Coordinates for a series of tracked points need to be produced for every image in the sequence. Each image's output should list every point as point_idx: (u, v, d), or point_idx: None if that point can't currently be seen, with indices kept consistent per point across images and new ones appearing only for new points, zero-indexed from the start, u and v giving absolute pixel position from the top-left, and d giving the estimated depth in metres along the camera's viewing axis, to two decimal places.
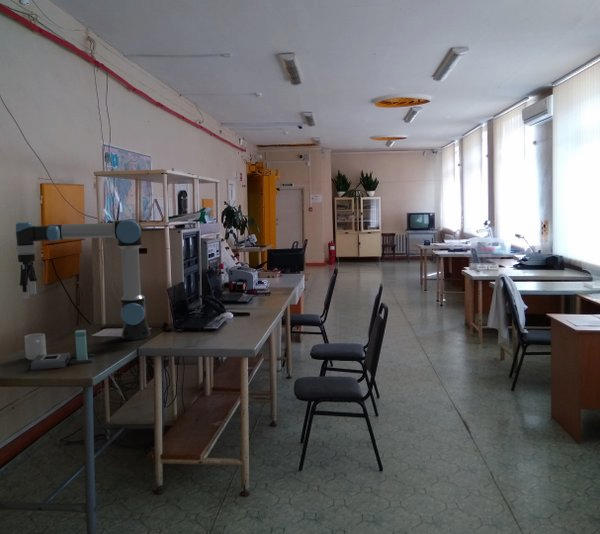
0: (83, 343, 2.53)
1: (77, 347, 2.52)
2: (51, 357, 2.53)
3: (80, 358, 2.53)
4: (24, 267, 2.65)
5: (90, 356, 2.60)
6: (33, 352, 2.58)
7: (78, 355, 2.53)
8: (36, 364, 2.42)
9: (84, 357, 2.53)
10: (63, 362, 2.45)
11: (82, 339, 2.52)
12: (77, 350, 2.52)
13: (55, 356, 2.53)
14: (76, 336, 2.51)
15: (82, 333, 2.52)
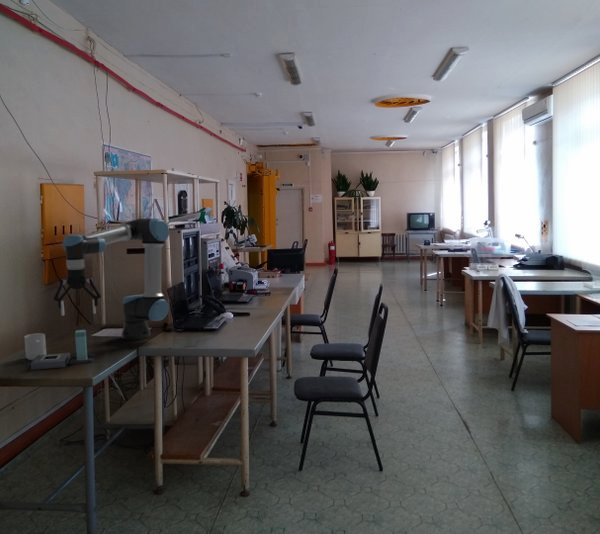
0: (83, 343, 2.53)
1: (77, 347, 2.52)
2: (51, 357, 2.53)
3: (80, 358, 2.53)
4: None
5: (90, 356, 2.60)
6: (33, 352, 2.58)
7: (78, 355, 2.53)
8: (36, 364, 2.42)
9: (84, 357, 2.53)
10: (63, 362, 2.45)
11: (82, 339, 2.52)
12: (77, 350, 2.52)
13: (55, 356, 2.53)
14: (76, 336, 2.51)
15: (82, 333, 2.52)
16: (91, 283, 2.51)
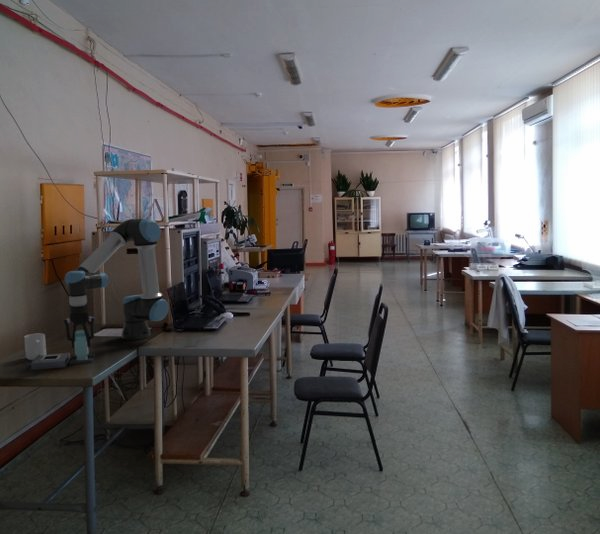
0: (83, 343, 2.53)
1: (77, 347, 2.52)
2: (51, 357, 2.53)
3: (80, 358, 2.53)
4: None
5: (90, 356, 2.60)
6: (33, 352, 2.58)
7: (78, 355, 2.53)
8: (36, 364, 2.42)
9: (84, 357, 2.53)
10: (63, 362, 2.45)
11: (82, 339, 2.52)
12: (77, 350, 2.52)
13: (55, 356, 2.53)
14: (76, 336, 2.51)
15: (82, 333, 2.52)
16: (91, 322, 2.53)
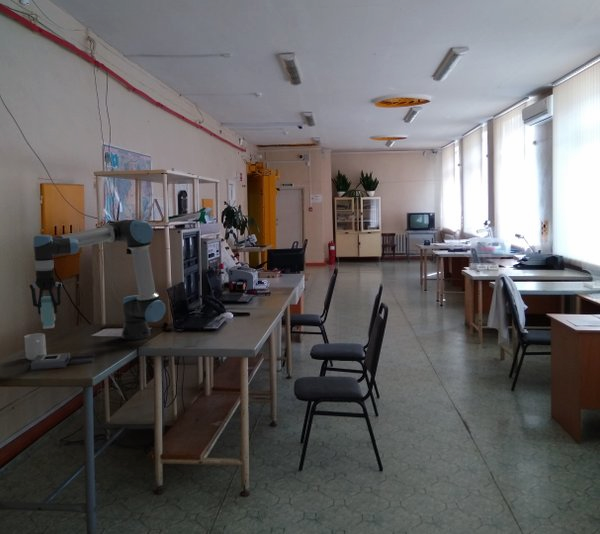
0: (49, 309, 2.46)
1: (43, 313, 2.45)
2: (51, 357, 2.53)
3: (46, 325, 2.46)
4: None
5: (90, 356, 2.60)
6: (33, 352, 2.58)
7: (44, 322, 2.46)
8: (36, 364, 2.42)
9: (50, 324, 2.46)
10: (63, 362, 2.45)
11: (48, 305, 2.45)
12: (43, 316, 2.45)
13: (55, 356, 2.53)
14: (42, 302, 2.44)
15: (48, 299, 2.45)
16: (58, 288, 2.46)
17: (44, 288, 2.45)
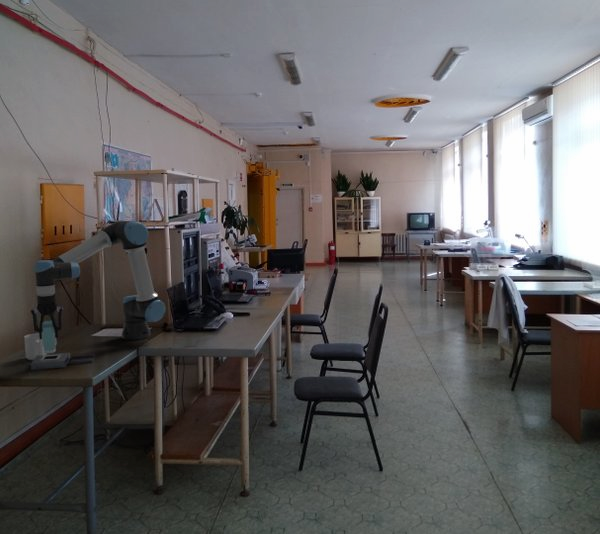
0: (51, 334, 2.47)
1: (44, 338, 2.46)
2: (51, 357, 2.53)
3: (47, 349, 2.47)
4: None
5: (90, 356, 2.60)
6: (33, 352, 2.58)
7: (45, 346, 2.47)
8: (36, 364, 2.42)
9: (52, 348, 2.48)
10: (63, 362, 2.45)
11: (50, 330, 2.46)
12: (44, 341, 2.46)
13: (55, 356, 2.53)
14: (43, 327, 2.46)
15: (50, 324, 2.46)
16: (59, 313, 2.48)
17: (45, 313, 2.46)
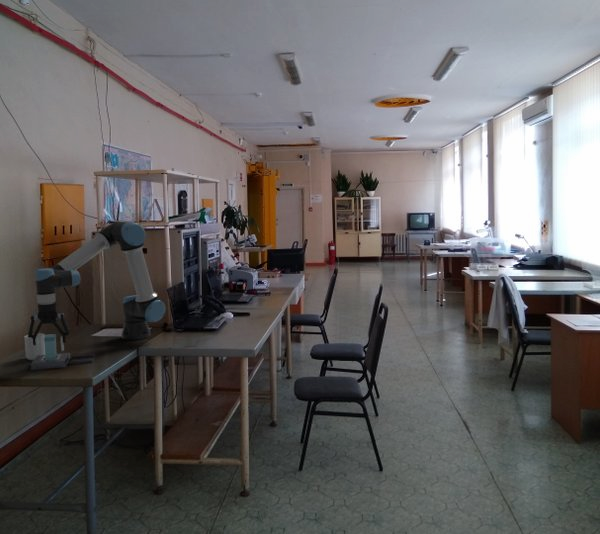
0: (52, 348, 2.48)
1: (46, 352, 2.47)
2: None
3: None
4: None
5: (90, 356, 2.60)
6: (33, 352, 2.58)
7: None
8: (36, 364, 2.42)
9: None
10: (63, 362, 2.45)
11: (51, 344, 2.47)
12: (46, 355, 2.47)
13: None
14: (45, 340, 2.47)
15: (51, 337, 2.47)
16: (62, 319, 2.48)
17: (46, 321, 2.47)
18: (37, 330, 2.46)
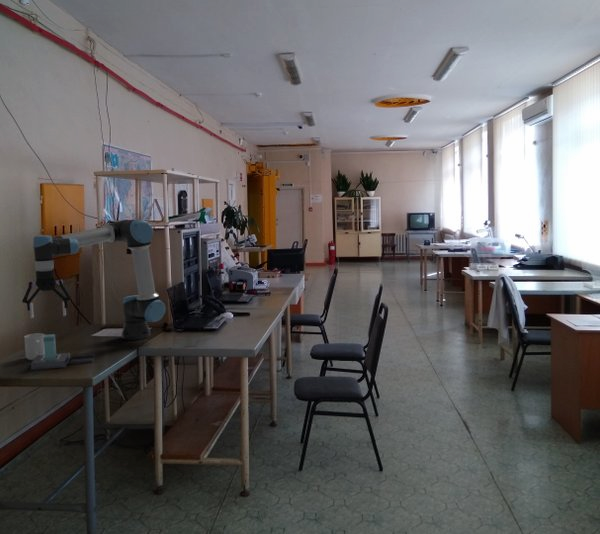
0: (52, 348, 2.48)
1: (46, 352, 2.47)
2: None
3: None
4: None
5: (90, 356, 2.60)
6: (33, 352, 2.58)
7: None
8: (36, 364, 2.42)
9: None
10: (63, 362, 2.45)
11: (51, 344, 2.47)
12: (46, 355, 2.47)
13: None
14: (45, 341, 2.47)
15: (51, 338, 2.47)
16: (61, 285, 2.47)
17: (44, 288, 2.45)
18: (33, 296, 2.44)
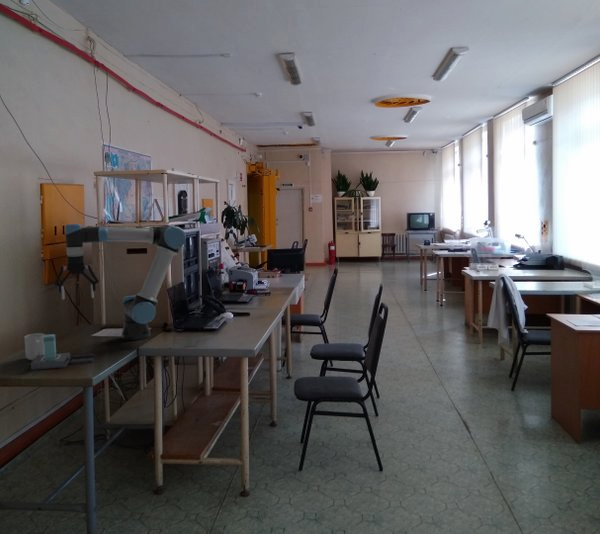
0: (52, 348, 2.48)
1: (46, 352, 2.47)
2: None
3: None
4: None
5: (90, 356, 2.60)
6: (33, 352, 2.58)
7: None
8: (36, 364, 2.42)
9: None
10: (63, 362, 2.45)
11: (51, 344, 2.47)
12: (46, 355, 2.47)
13: None
14: (45, 341, 2.47)
15: (51, 338, 2.47)
16: (89, 269, 2.69)
17: (75, 272, 2.68)
18: (64, 279, 2.67)
